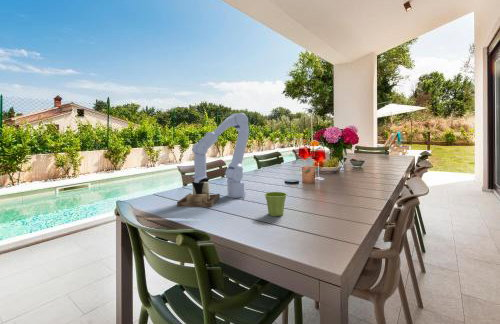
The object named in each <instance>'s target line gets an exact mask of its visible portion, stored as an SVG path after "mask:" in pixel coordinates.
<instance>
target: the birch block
mask: <svg viewBox="0 0 500 324" xmlns="http://www.w3.org/2000/svg"><path fill="white" fill-rule="evenodd" d="M210 193H211V192H210V181H208V182H204V184H203V188H202V194H207V199H210V195H211V194H210ZM192 194H196V191H195V188H194V186H193V185H192Z"/></svg>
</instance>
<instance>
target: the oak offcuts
mask: <svg viewBox="0 0 500 324" xmlns="http://www.w3.org/2000/svg"><path fill="white" fill-rule="evenodd" d="M187 203H207V194H193V193H191V194H189V193H188V194H187Z"/></svg>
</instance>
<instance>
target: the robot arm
mask: <svg viewBox="0 0 500 324" xmlns="http://www.w3.org/2000/svg"><path fill="white" fill-rule="evenodd" d="M230 127H233V128H235V130H236V131H237V132H238V133H237V138H236V141H235V146H234V149H233V155H232V158H231V161H230V163H229V164H228V167H227V168H226V170H225V173H224V174H225V177H226V178H227V181H226V182H227V186H226V187H227V198H234V199H235V198H242V200H245V198H246V195H247V194H246V193H247V192H246V181H243V180H242V179H243V178H244V173H243V171H244V167H243V164H242V163H243V160H244V156H245V151H246V147H247V143H248V139H249V135H250V126H249V118H248V116H247V115H246V114H245V113H244V112H238V113H232V114H230V115H229V116H227V117H226V118H225V119H224V120H223V121H222V122H221V123H220V124H219V125H218V126H217V127H216V128H215V129H214V131H209V132H206V133H205V135H204V136H203V137H202V138H201V139H199V140H198V142H195V143H194V144H193V147H192V148H191V150H192V151H191V152H192V153H193V157H194V158H193V161H194V162H193V163H194V175H192V176H191V177H192V179H194V180H193V181H192V182H191V185H192V187H193V186H194V188H195V191H196V194H202V188H203V184H204V182H210V178H208V176H207V153H208V151H209V149H210V148H211V147H212V146H213V145H214V144H215V143H216V142H217V141H218V140H219V139H218V138H219V136H221V134H223V133H224V132H225V131H226V130H228V129H229V128H230Z"/></svg>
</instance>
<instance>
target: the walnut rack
mask: <svg viewBox="0 0 500 324" xmlns="http://www.w3.org/2000/svg"><path fill="white" fill-rule="evenodd" d="M188 194H192V193H190V192H189V193H188ZM188 194H187V195H188ZM187 195H186V194H185V196H183V197H182V198H180V199H179V200H178V201H176V207H180V208H181V207H183V208H185V207H187V208H190V207H191V208H194V207H195V208H212V207H213V206H214V205H215V204H216V203H217V201H218V200H219V199H220V197H221V194H220V193H217V194H210V199H207V203H187Z"/></svg>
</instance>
